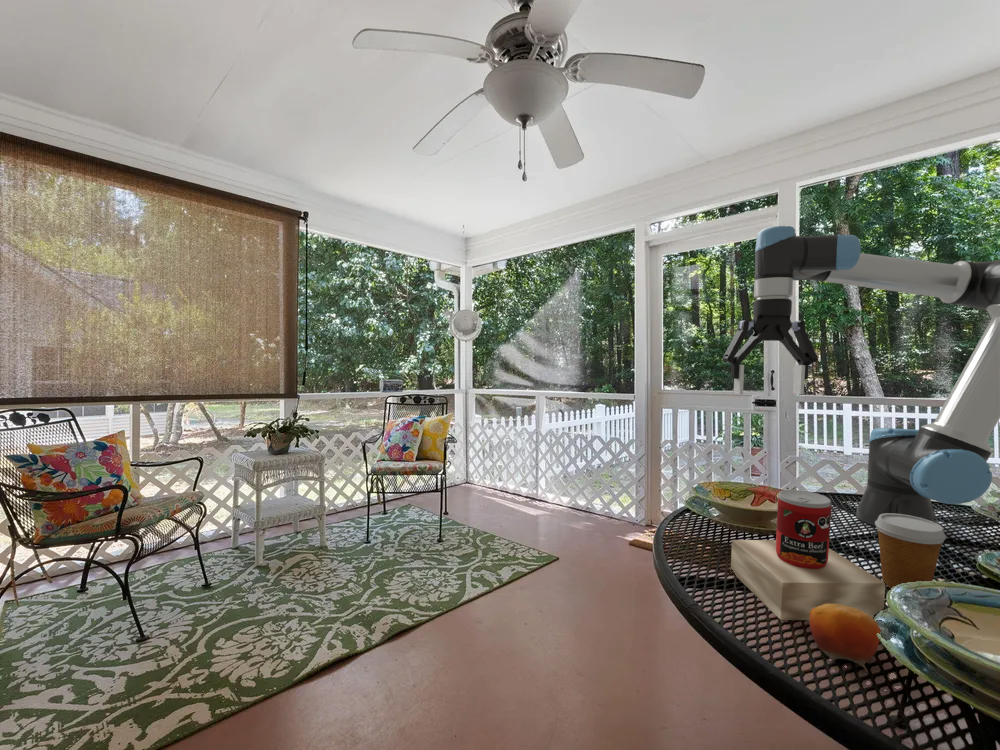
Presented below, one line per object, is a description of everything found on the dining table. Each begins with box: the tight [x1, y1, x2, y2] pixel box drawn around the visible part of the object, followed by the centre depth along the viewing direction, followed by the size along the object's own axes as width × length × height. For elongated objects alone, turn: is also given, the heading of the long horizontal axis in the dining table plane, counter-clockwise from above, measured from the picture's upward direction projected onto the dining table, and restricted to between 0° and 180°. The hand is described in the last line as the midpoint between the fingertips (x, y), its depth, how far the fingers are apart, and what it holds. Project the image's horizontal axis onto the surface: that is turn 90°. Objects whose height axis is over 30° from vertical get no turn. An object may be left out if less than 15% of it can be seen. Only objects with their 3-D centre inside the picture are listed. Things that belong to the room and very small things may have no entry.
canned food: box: [775, 489, 832, 569], centre depth 82 cm, size 8×8×11 cm
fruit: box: [809, 603, 882, 674], centre depth 66 cm, size 8×8×8 cm
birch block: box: [730, 539, 886, 621], centre depth 82 cm, size 16×16×6 cm
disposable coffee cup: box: [875, 513, 947, 589], centre depth 84 cm, size 10×10×12 cm
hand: (768, 393), depth 108 cm, fingers open, 13 cm apart
